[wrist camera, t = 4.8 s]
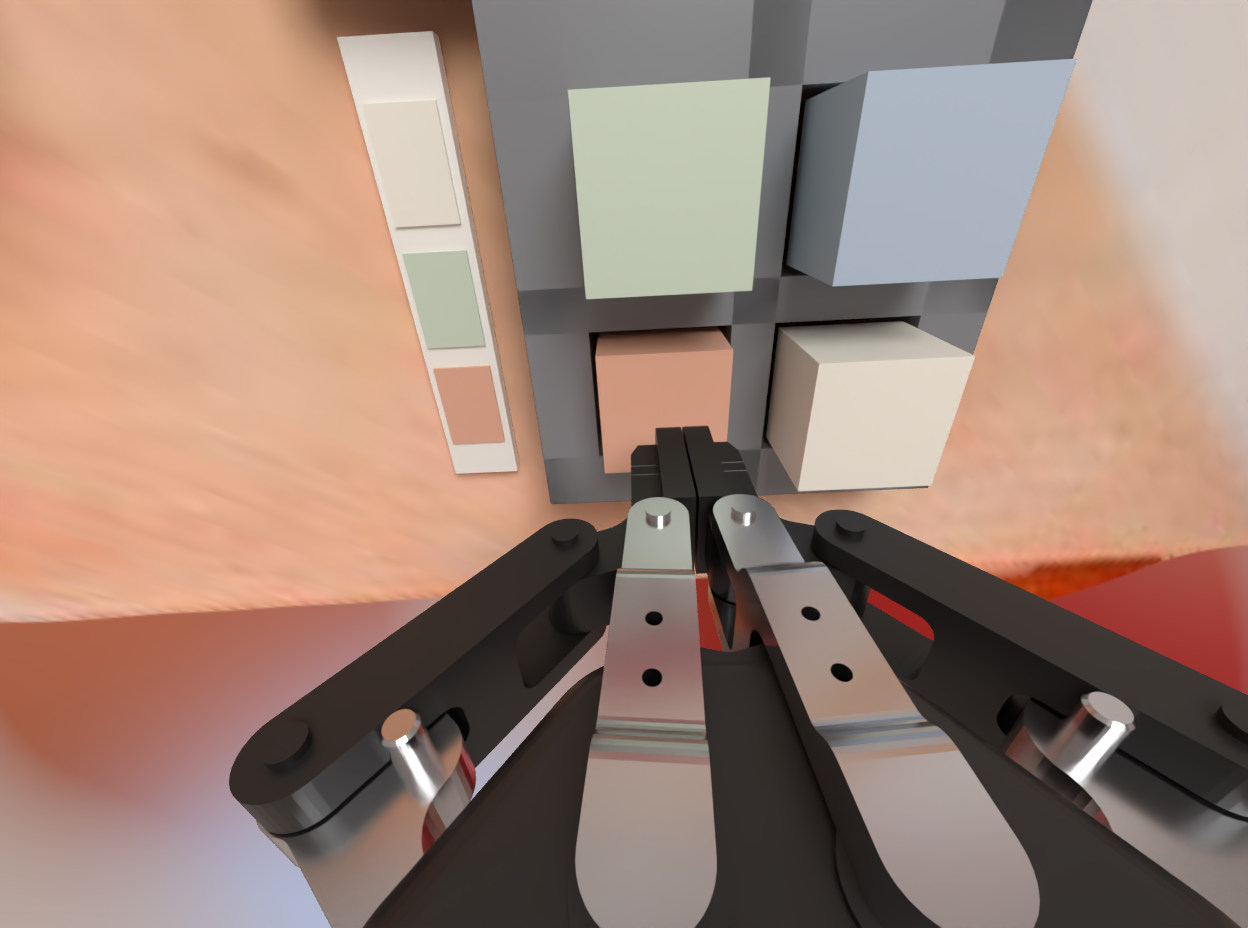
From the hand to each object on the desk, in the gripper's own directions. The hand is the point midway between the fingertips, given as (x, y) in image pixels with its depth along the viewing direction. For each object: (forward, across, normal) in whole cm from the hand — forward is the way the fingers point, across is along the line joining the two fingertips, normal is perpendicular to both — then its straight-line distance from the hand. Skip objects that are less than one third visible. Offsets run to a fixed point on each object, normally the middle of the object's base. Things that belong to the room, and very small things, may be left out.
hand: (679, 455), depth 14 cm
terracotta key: (+7, 0, 0) cm, 7 cm away
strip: (+8, +8, -3) cm, 12 cm away
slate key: (+5, -6, -6) cm, 10 cm away
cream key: (+5, -6, 0) cm, 8 cm away
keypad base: (+8, -3, -3) cm, 9 cm away
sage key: (+5, 0, -6) cm, 8 cm away
